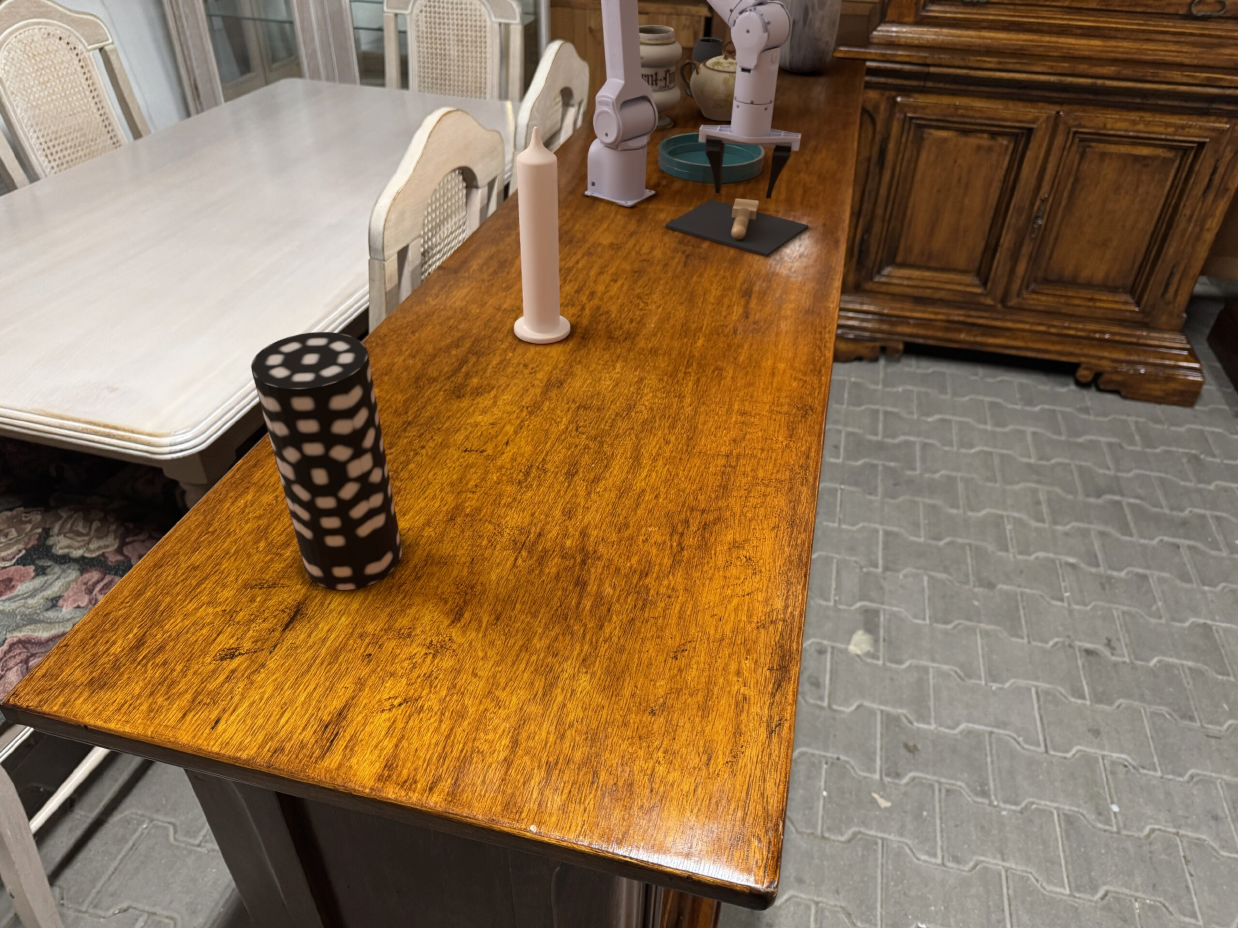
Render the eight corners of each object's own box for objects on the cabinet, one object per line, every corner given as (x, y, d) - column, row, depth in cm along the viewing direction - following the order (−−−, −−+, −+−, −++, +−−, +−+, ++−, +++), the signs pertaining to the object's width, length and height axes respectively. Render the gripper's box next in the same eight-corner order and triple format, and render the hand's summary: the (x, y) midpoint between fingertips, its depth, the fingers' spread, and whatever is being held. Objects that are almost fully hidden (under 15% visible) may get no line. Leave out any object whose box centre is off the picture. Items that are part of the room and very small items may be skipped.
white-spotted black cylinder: (314, 526, 80) (265, 333, 68) (406, 523, 81) (375, 330, 69) (295, 592, 73) (238, 390, 61) (396, 587, 74) (358, 387, 62)
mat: (665, 227, 138) (665, 224, 138) (710, 202, 147) (710, 199, 147) (767, 257, 130) (767, 253, 130) (808, 228, 139) (808, 225, 139)
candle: (527, 349, 107) (517, 140, 92) (505, 324, 112) (493, 121, 97) (579, 337, 109) (579, 132, 94) (556, 313, 114) (552, 114, 99)
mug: (724, 99, 199) (729, 45, 192) (684, 96, 200) (687, 43, 193) (728, 86, 208) (733, 34, 202) (690, 83, 210) (693, 32, 203)
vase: (815, 82, 213) (837, -60, 195) (756, 72, 220) (771, -67, 202) (840, 70, 224) (862, -67, 206) (782, 60, 231) (799, -72, 212)
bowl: (637, 170, 159) (638, 151, 157) (692, 144, 172) (694, 126, 170) (729, 194, 151) (731, 174, 149) (780, 165, 163) (783, 146, 161)
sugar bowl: (767, 108, 194) (776, 34, 185) (770, 128, 182) (780, 50, 173) (678, 104, 195) (683, 30, 186) (675, 123, 183) (680, 45, 174)
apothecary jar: (612, 127, 180) (613, 31, 169) (633, 112, 189) (636, 20, 178) (667, 135, 176) (672, 38, 166) (686, 119, 185) (692, 26, 175)
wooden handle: (734, 207, 144) (736, 194, 143) (757, 210, 144) (759, 197, 142) (724, 241, 133) (725, 227, 132) (749, 243, 133) (751, 229, 131)
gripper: (806, 96, 126) (793, 189, 134) (706, 88, 128) (699, 180, 136) (804, 109, 120) (790, 205, 128) (699, 100, 122) (692, 196, 131)
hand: (743, 193), depth 132 cm, fingers open, 7 cm apart
